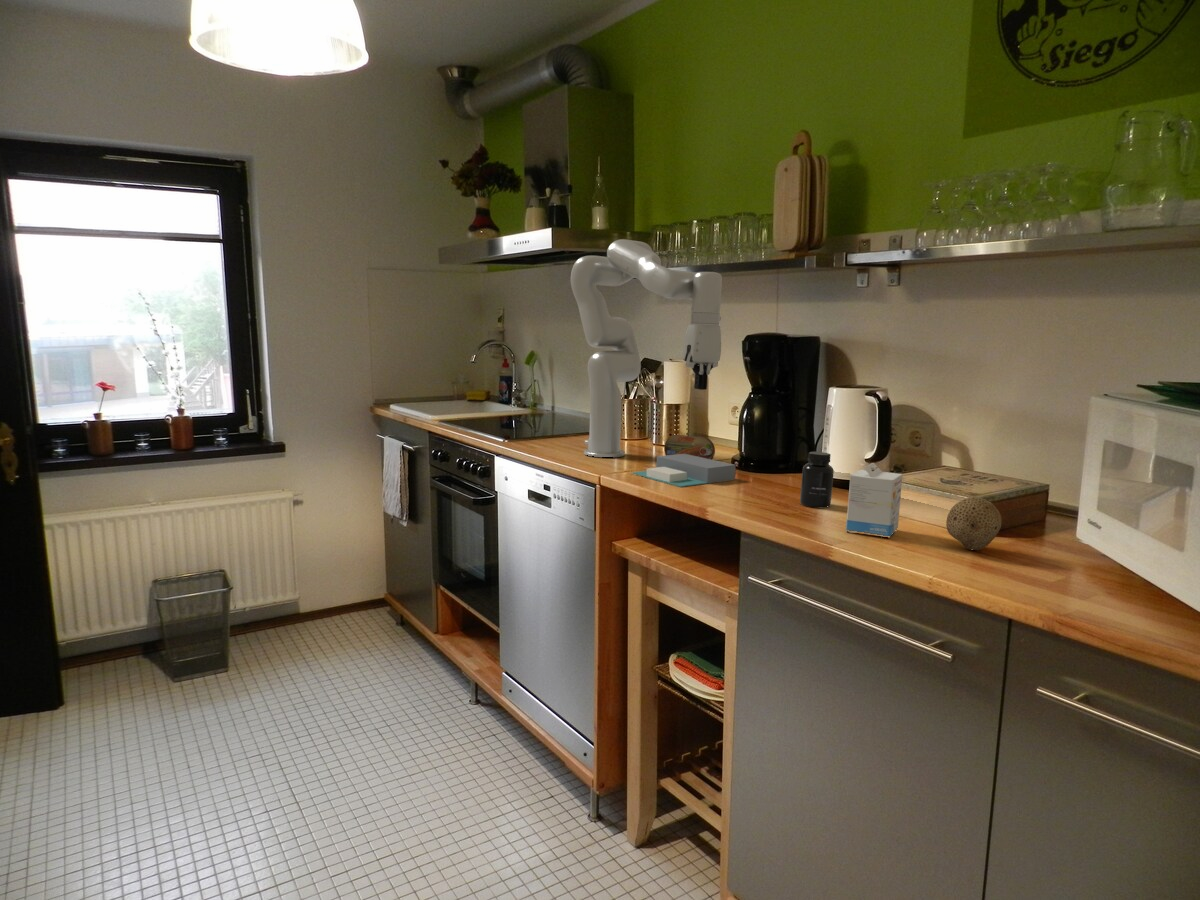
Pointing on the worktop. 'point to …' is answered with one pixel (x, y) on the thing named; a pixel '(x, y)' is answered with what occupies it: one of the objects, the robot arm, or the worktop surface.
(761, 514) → the worktop surface
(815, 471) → the supplement bottle
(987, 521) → the natural sponge
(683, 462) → the grey flat block
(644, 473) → the mat
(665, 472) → the white rectangular block
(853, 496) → the ink box
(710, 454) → the tin
